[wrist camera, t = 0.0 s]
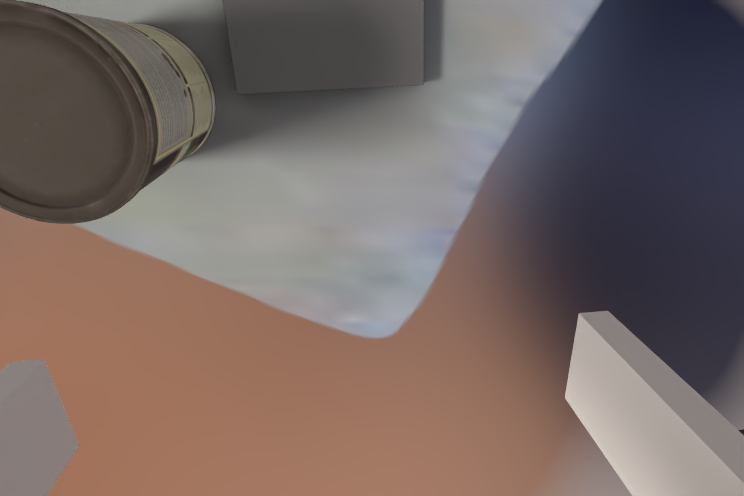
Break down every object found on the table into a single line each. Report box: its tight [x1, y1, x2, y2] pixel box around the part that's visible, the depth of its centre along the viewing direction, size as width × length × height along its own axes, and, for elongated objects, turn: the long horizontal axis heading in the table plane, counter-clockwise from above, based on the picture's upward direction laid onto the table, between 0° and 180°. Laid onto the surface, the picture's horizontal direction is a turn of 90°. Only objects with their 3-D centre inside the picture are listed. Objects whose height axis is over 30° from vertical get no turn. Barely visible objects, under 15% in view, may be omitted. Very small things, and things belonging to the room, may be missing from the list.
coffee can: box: [0, 0, 215, 224], centre depth 28 cm, size 10×10×14 cm
